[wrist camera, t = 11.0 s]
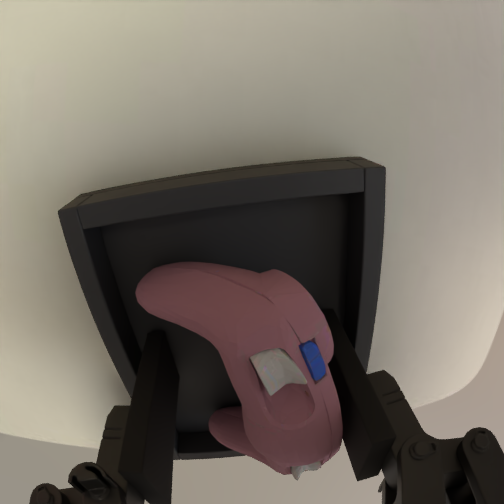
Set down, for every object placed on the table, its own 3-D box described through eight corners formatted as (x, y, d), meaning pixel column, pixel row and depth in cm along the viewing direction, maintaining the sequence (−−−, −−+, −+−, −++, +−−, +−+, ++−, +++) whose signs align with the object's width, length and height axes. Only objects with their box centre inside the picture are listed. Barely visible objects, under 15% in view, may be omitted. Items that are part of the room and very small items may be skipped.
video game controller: (276, 385, 17) (365, 462, 11) (206, 427, 15) (282, 524, 9) (229, 221, 13) (371, 277, 7) (122, 269, 11) (193, 390, 5)
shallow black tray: (360, 156, 11) (386, 166, 9) (342, 409, 17) (352, 436, 16) (80, 194, 11) (56, 211, 9) (170, 432, 17) (167, 460, 15)
